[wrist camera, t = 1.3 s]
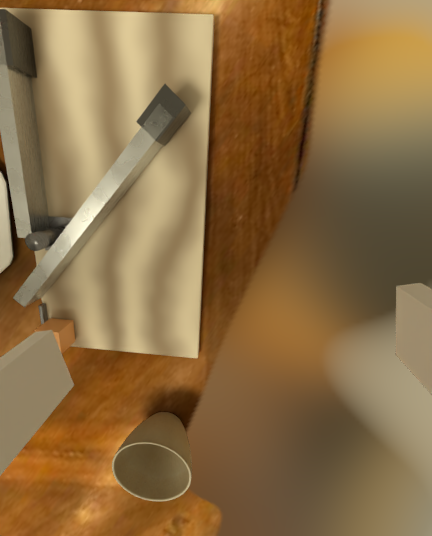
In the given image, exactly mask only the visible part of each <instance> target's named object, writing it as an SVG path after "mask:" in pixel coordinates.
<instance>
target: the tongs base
mask: <svg viewBox="0 0 432 536" xmlns="http://www.w3.org/2000/svg"><path fill="white" fill-rule="evenodd" d="M31 78H37V72H36V64H35V55H34V47H33V39H32V30H31V28H30V27H29V26H27V25H26V24H25V23H23V22H22V21H21V20H19V19H18V18H17V17H15V16H14V15H13V14H11V13H10V12H9V11H7V10H6V9H0V132H1V138H2V144H3V150H4V156H5V162H6V169H7V175H8V181H9V187H10V193H11V199H12V205H13V211H14V218H15V224H16V230H17V236H18V238H25V243H26V245H27V247H28V248H29V249H31V250H33V251H39V250H42V249H44V248H45V250H49V249H50V248H51V247H52V245H53V244H54V243H55V241H56V240H57V239H58V237H59V236H60V235H61V233H62V232H63V231H64V229H65V228H66V227H67V225H68V224H69V223H70V221H71V220H72V219H73V218H68V217H53V216H49V214H48V206H47V198H46V191H45V183H44V175H43V167H42V159H41V151H40V143H39V135H38V127H37V119H36V111H35V103H34V95H33V87H32V79H31ZM78 253H79V252H78ZM39 312H40V319H41V325H42V324H43V323H45V322H46V321H47V320H48V314H47V307H46V303H42V304H41V305H39Z"/></svg>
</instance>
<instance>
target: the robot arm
mask: <svg viewBox="0 0 432 536" xmlns="http://www.w3.org/2000/svg"><path fill="white" fill-rule="evenodd" d="M396 356H397V357H398V358H399V359H400V360H401V361H402V362H403V363H404V364H405V366H406V367H407V368H408V369H409V370H410V371H411V372H412V373H413V375H414V376H415V377H416V378H417V379H418V380H419V381H420V382H421V383H422V385H423V386H424V387H425V388H426V389H427V390H428V391H429V392H430V394H431V395H432V289H430V288H429V287H427V286H425V285H423V284H422V283H417V284H408V285H401V286H396ZM73 386H74V384H73V381H72V379H71V376H70V374H69V371H68V369H67V366H66V364H65V361H64V359H63V356H62V354H61V351H60V349H59V346H58V344H57V341H56V339H55V336H54V334H53V331H52V330H47V331H39V332H35V333H33V334H32V335H30V336H29V337H28V338H26V339H25V340H24V341H22V342H21V343H20V344H18V345H17V346H15V347H14V348H13V349H11V350H10V351H9V352H7V353H6V354H5V355H3V356H2V357H0V475H1V474H2V473H3V472H4V470H5V469H6V468H7V467H8V466H9V464H10V463H11V462H12V461H13V459H14V458H15V457H16V456H17V455H18V453H19V452H20V451H21V450H22V448H23V447H24V446H25V445H26V444H27V442H28V441H29V440H30V439H31V437H32V436H33V435H34V434H35V432H36V431H37V430H38V429H39V428H40V426H41V425H42V424H43V423H44V421H45V420H46V419H47V418H48V417H49V415H50V414H51V413H52V412H53V410H54V409H55V408H56V407H57V406H58V404H59V403H60V402H61V401H62V399H63V398H64V397H65V396H66V395H67V393H68V392H69V391H70V390H71V388H72V387H73Z"/></svg>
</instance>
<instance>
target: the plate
mask: <svg viewBox="0 0 432 536" xmlns="http://www.w3.org/2000/svg"><path fill="white" fill-rule="evenodd" d="M13 258H14V251H13V239H12V228H11V217H10V205H9V194H8V183H7V181H6V179H5V177H4V174H3V173H2V172H1V170H0V273H2V272H3V271H4V270H5V269H6V268H7V267H8V266H9V265H10V264H11V263H12V260H13Z"/></svg>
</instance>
